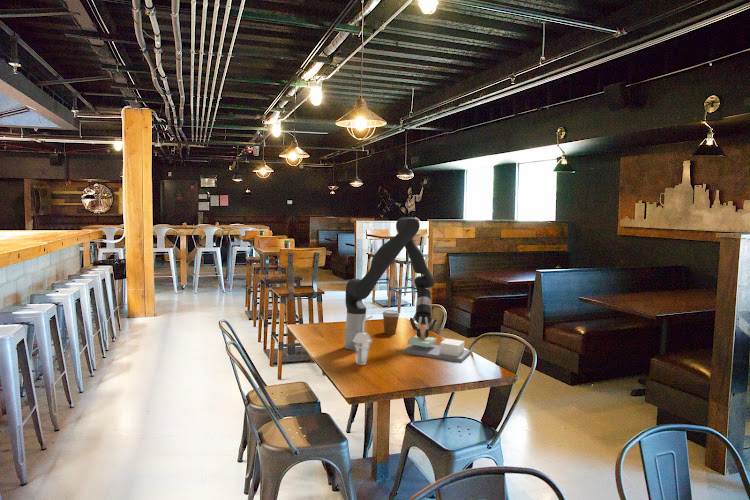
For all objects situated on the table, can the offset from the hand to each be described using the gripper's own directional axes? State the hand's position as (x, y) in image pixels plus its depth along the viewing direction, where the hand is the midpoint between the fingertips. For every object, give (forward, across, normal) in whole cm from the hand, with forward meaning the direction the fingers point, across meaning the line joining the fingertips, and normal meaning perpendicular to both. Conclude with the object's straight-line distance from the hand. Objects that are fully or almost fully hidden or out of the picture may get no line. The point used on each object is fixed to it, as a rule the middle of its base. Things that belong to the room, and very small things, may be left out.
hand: (422, 337), depth 240 cm
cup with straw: (+24, -26, -14) cm, 38 cm away
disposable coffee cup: (-19, -17, +30) cm, 39 cm away
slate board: (+6, +7, +4) cm, 10 cm away
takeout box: (+6, +14, +2) cm, 15 cm away
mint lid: (+1, 0, +4) cm, 4 cm away
